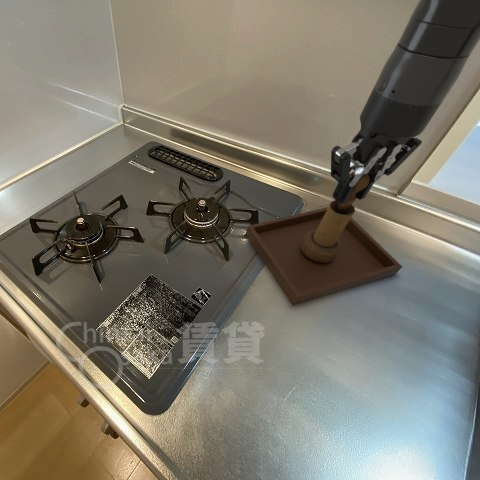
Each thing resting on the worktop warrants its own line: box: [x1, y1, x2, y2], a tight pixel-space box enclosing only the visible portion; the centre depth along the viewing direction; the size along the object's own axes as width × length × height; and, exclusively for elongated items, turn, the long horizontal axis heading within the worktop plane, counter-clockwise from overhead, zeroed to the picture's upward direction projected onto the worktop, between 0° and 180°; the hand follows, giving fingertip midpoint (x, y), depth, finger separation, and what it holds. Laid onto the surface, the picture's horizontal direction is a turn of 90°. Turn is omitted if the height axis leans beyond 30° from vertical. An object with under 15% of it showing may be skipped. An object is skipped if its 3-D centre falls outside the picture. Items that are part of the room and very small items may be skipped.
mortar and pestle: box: [301, 170, 370, 263], centre depth 54 cm, size 7×6×18 cm
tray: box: [245, 206, 403, 306], centre depth 61 cm, size 22×18×3 cm
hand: (348, 197), depth 51 cm, fingers closed on mortar and pestle, 3 cm apart
